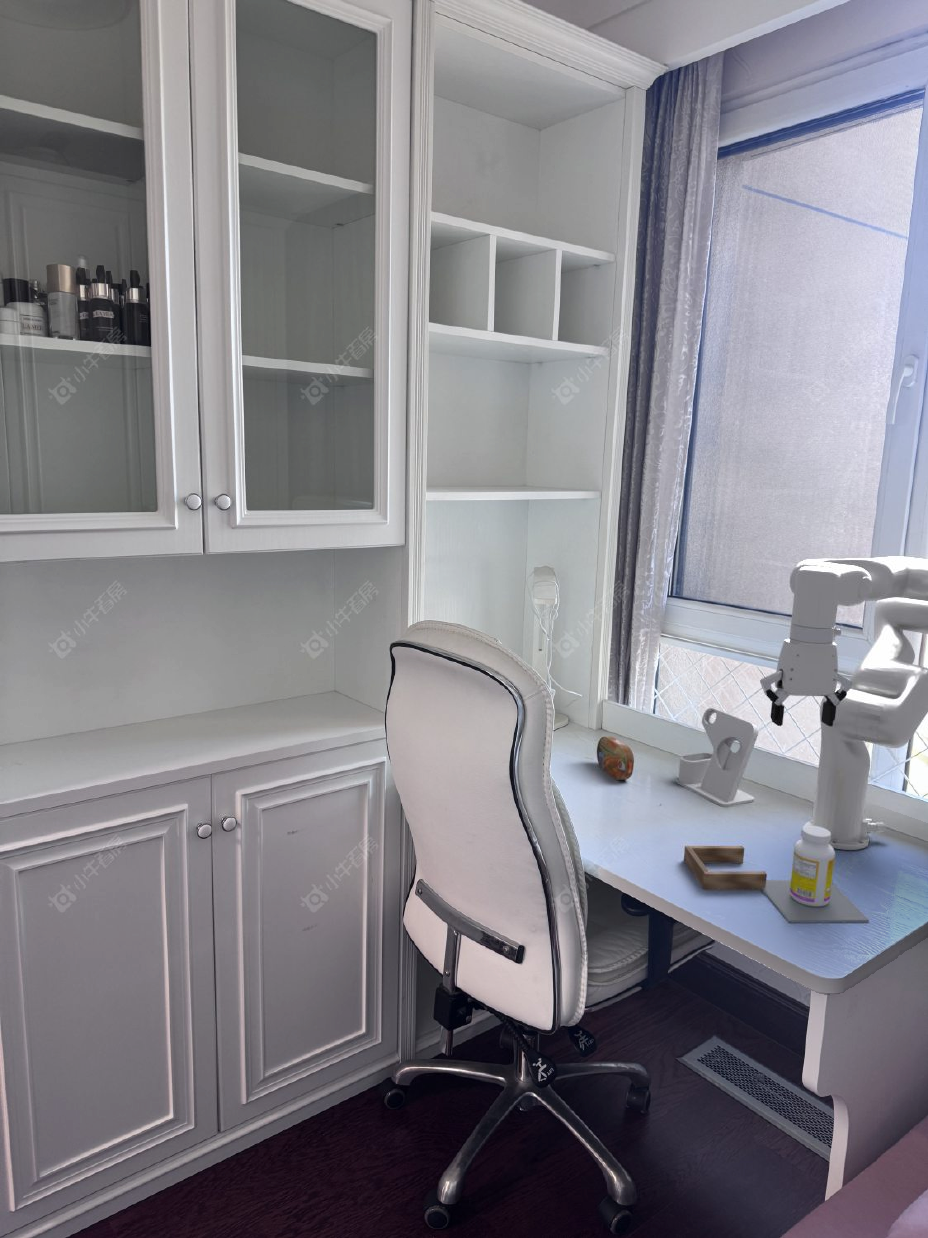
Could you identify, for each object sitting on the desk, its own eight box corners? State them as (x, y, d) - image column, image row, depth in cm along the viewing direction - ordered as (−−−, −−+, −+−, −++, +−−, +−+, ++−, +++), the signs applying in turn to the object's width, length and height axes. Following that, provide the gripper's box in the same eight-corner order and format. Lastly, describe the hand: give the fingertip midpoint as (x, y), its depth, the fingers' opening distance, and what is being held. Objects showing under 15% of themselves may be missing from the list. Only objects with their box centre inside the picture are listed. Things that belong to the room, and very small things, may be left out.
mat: (828, 882, 160) (829, 880, 159) (868, 922, 146) (869, 920, 146) (755, 882, 158) (755, 880, 158) (788, 922, 145) (789, 920, 145)
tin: (594, 763, 218) (596, 732, 216) (606, 763, 219) (608, 731, 217) (622, 785, 204) (625, 751, 202) (634, 784, 205) (637, 751, 203)
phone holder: (672, 781, 208) (678, 709, 205) (705, 775, 212) (711, 705, 209) (723, 807, 193) (730, 730, 189) (757, 801, 197) (764, 726, 194)
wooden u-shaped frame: (740, 860, 167) (742, 846, 166) (765, 889, 156) (766, 874, 155) (683, 860, 166) (684, 846, 166) (703, 889, 155) (705, 874, 154)
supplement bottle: (819, 889, 156) (827, 823, 153) (836, 908, 149) (844, 839, 147) (782, 889, 155) (790, 822, 153) (798, 908, 149) (806, 838, 146)
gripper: (846, 631, 162) (836, 718, 165) (757, 629, 161) (749, 717, 164) (868, 639, 155) (856, 730, 158) (774, 638, 153) (765, 730, 156)
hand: (801, 724), depth 161 cm, fingers open, 9 cm apart
